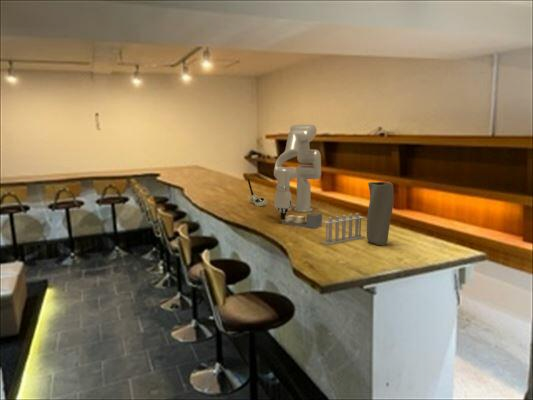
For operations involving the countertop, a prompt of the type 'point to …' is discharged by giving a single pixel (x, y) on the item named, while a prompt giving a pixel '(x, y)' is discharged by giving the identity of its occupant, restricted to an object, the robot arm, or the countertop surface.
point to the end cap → (314, 220)
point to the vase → (379, 212)
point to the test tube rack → (343, 229)
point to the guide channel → (294, 224)
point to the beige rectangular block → (295, 219)
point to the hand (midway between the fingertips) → (283, 218)
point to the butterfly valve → (256, 197)
